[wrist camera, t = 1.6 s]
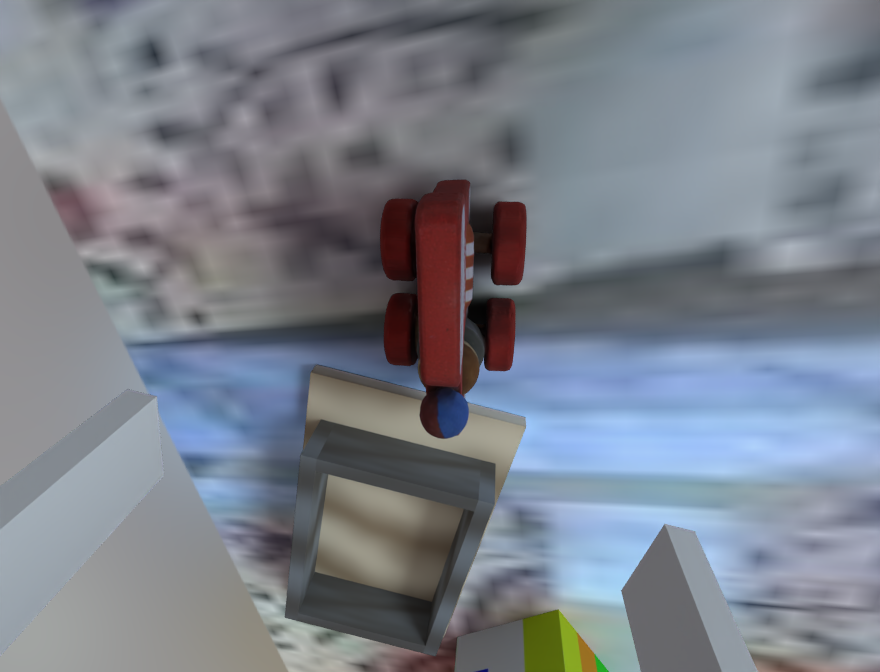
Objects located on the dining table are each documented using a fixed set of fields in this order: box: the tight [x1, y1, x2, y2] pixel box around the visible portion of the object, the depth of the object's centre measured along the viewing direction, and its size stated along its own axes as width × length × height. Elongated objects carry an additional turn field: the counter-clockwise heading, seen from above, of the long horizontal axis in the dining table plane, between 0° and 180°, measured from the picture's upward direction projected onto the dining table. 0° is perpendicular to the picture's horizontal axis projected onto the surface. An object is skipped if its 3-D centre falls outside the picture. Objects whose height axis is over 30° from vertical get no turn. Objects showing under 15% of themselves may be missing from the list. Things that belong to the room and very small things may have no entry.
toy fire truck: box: [380, 180, 526, 439], centre depth 22 cm, size 7×12×10 cm, turn 179°
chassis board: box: [285, 365, 526, 656], centre depth 34 cm, size 24×14×4 cm, turn 168°
